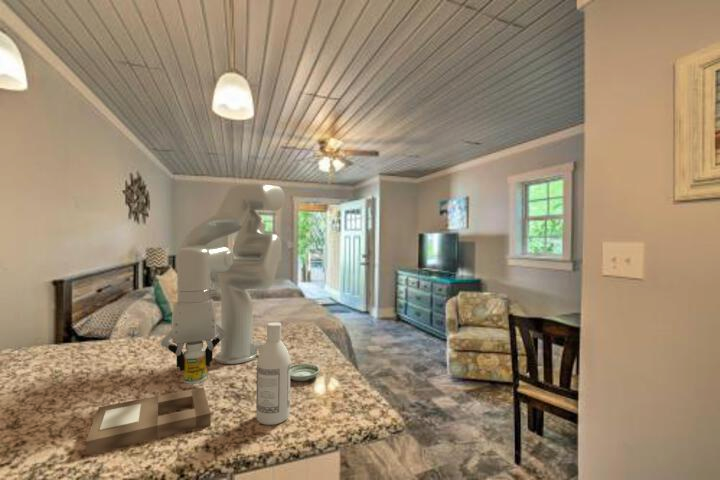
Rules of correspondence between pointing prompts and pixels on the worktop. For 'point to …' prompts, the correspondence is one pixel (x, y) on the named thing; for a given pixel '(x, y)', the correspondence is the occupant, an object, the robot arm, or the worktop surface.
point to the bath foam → (273, 379)
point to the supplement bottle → (194, 363)
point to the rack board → (147, 420)
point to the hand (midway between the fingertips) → (194, 366)
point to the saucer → (303, 371)
